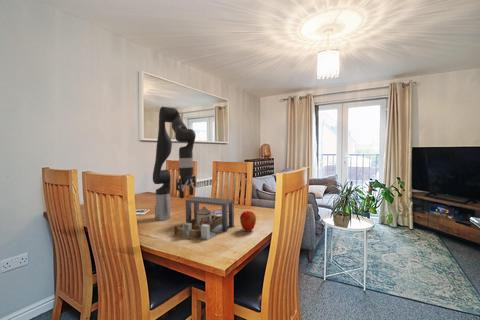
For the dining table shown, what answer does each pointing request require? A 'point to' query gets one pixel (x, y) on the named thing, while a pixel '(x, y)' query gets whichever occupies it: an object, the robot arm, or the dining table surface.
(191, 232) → the sled walnut
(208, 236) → the light grey block
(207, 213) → the teacup with lid
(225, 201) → the shelf
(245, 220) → the apple
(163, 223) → the dining table surface
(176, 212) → the dining table surface
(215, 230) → the strip grey far
